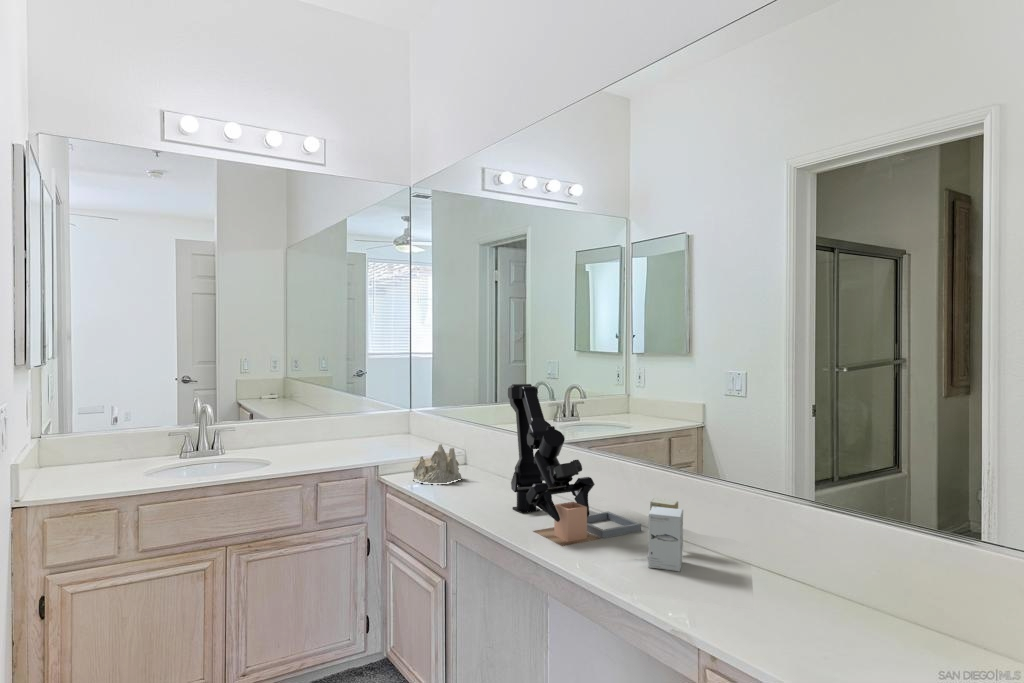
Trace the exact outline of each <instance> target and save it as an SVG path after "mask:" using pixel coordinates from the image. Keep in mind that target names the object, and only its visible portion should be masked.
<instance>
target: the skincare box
mask: <svg viewBox="0 0 1024 683" xmlns="http://www.w3.org/2000/svg"><path fill="white" fill-rule="evenodd" d="M649 502H650V506H649V507H650V508H649V512H650V511H651V508H652V506H654V507H664V508H674V509H679V501H678V500H671V499H666V498H664V499H663V498H658V497H657V498H656V497H654V498H653V499H652V500H650V501H649Z"/></svg>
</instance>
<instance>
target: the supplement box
mask: <svg viewBox="0 0 1024 683" xmlns="http://www.w3.org/2000/svg"><path fill="white" fill-rule="evenodd" d="M683 535H684V509H682V508H678V509H674V508H664V507H654V506H652V508H651V511H650V510H649V513H648V556H647V557H648V561H647V562H648V563H647V564H648V565H647V566H648V568H649V569H650V568H651V569H660V570H667V571H674V572H679V573H680V572H681V569H682V563H683V551H684V550H683V545H684V543H683V542H684V541H683V540H684V538H683Z"/></svg>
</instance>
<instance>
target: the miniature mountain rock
mask: <svg viewBox="0 0 1024 683" xmlns="http://www.w3.org/2000/svg"><path fill="white" fill-rule="evenodd" d="M437 446H438V447H437V450H435V451H434V452H433V454H432V456H431V457H428V458H427V457H425V459H424V456H422V455H420V456H419V459H417V460H416V461H415V463H414V464H413V466H412V471H413V477H412V480H413V479H417V480H419V481H421V482H428V483H447V482H451V481H454V480H458V479H461V478H462V479H463V477H462V474H461V473H460V468H459V465H460V463H459V462H458V460H457V459H456V458H457V457H456V453H455V447H450V448H449V450H448V452H446V451H445V448H444V446H443V444H442V443H439V444H438V445H437Z"/></svg>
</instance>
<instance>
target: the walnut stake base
mask: <svg viewBox="0 0 1024 683" xmlns="http://www.w3.org/2000/svg"><path fill="white" fill-rule="evenodd" d="M532 532H533V533H535V534H537V535H539V536H541V537H543V538H545V539H547V540H549V541H551V542H553V543H555V544H557V545H559V546H561V547H566V546H571V545H574V544H575V545H576V544H582V543H585V542H591V541H596V540H601V539H602V538H601V537H598V536H596V535H594V534H592V533H589V532H587V538H585V539H580V540H575V541H570V542H567V541H565V540H563V539H561V538H559V537H557V536H555V535H554V527H549V528H542V529H536V530H532Z"/></svg>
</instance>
